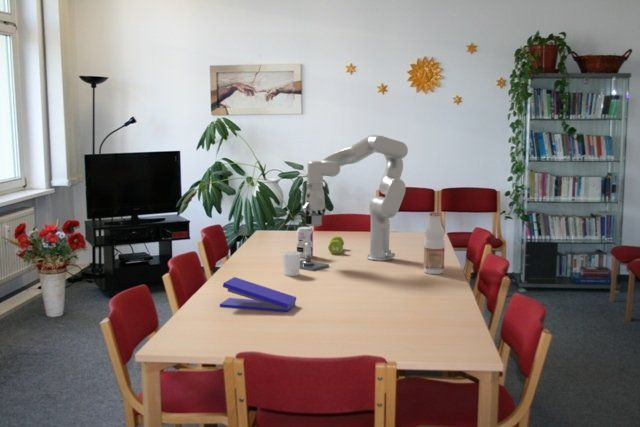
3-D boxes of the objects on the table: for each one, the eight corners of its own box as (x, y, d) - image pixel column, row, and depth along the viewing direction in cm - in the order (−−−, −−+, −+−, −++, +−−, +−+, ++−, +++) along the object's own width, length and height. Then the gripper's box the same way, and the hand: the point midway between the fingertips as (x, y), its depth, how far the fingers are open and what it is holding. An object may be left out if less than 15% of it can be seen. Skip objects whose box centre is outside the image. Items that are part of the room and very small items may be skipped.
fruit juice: (419, 271, 346) (420, 212, 342) (434, 269, 351) (436, 211, 347) (432, 275, 338) (434, 215, 334) (448, 273, 343) (449, 213, 339)
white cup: (298, 276, 334) (298, 255, 332) (281, 276, 335) (281, 254, 334) (301, 273, 341) (302, 251, 340) (285, 272, 343) (285, 251, 341)
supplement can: (313, 255, 382) (313, 226, 380) (311, 258, 374) (311, 229, 372) (297, 254, 383) (298, 226, 380) (295, 258, 375) (295, 229, 372)
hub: (324, 225, 358) (324, 214, 358) (314, 226, 353) (315, 216, 352) (313, 223, 363) (313, 213, 362) (303, 224, 357) (303, 214, 357)
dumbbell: (342, 255, 384) (342, 241, 383) (327, 254, 384) (327, 241, 383) (344, 249, 400) (344, 236, 399) (329, 248, 401) (329, 235, 400)
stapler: (229, 300, 294) (229, 276, 292) (297, 305, 287) (297, 281, 285) (218, 308, 283) (218, 283, 281) (288, 313, 276) (288, 288, 274)
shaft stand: (328, 266, 355) (328, 243, 353) (313, 270, 346) (313, 247, 344) (303, 262, 365) (303, 239, 363) (287, 266, 355) (287, 243, 354)
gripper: (309, 188, 346) (308, 225, 349) (332, 186, 360) (331, 222, 362) (297, 187, 351) (296, 223, 353) (320, 185, 364) (319, 220, 367)
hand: (313, 222), depth 358 cm, fingers closed on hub, 7 cm apart
